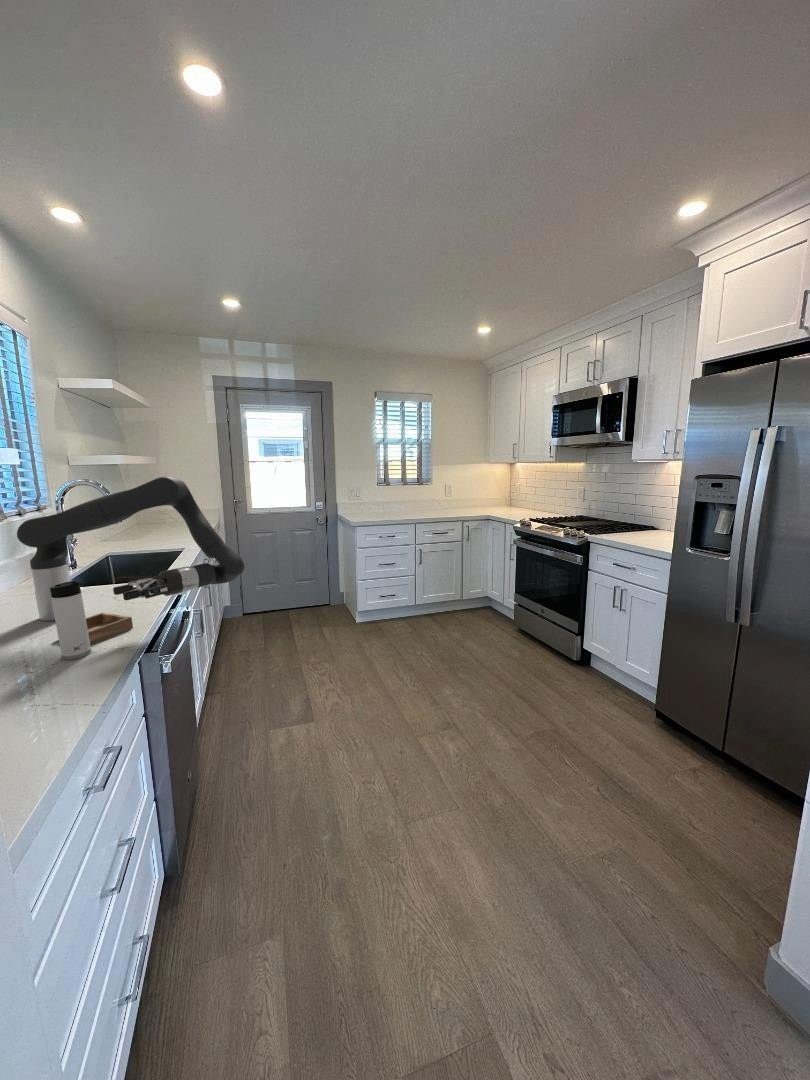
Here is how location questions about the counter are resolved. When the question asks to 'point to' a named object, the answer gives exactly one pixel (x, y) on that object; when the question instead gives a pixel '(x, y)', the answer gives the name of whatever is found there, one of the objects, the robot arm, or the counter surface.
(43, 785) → the counter surface
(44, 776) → the counter surface
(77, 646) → the travel mug
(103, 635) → the walnut caddy
